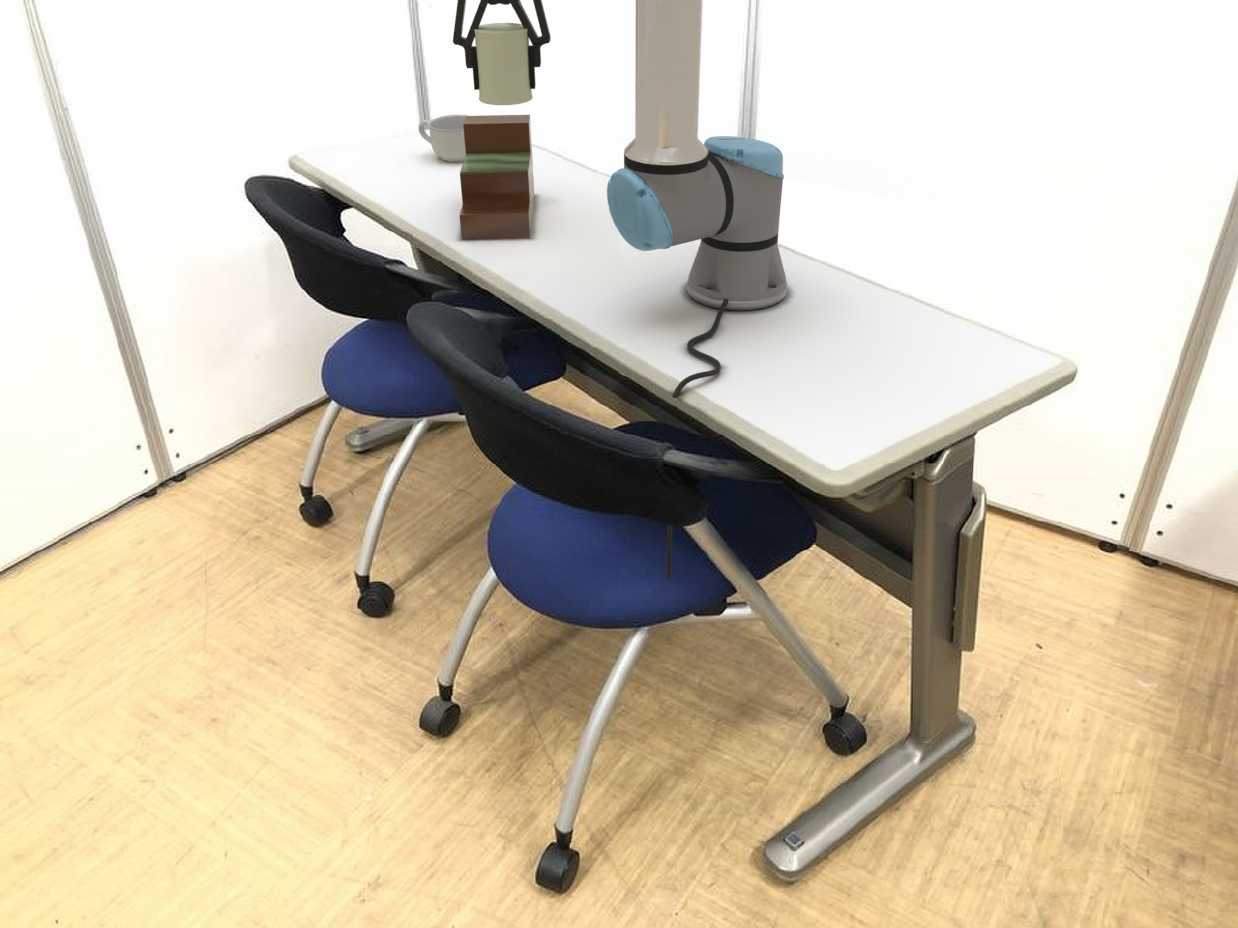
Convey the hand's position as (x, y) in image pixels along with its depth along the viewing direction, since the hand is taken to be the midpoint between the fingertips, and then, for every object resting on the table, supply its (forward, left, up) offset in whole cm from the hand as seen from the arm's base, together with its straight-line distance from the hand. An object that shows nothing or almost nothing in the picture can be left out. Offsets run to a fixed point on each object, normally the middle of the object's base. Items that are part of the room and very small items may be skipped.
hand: (505, 87), depth 179 cm
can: (0, 0, -2) cm, 2 cm away
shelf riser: (+3, +3, -24) cm, 24 cm away
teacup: (+43, +16, -24) cm, 51 cm away
